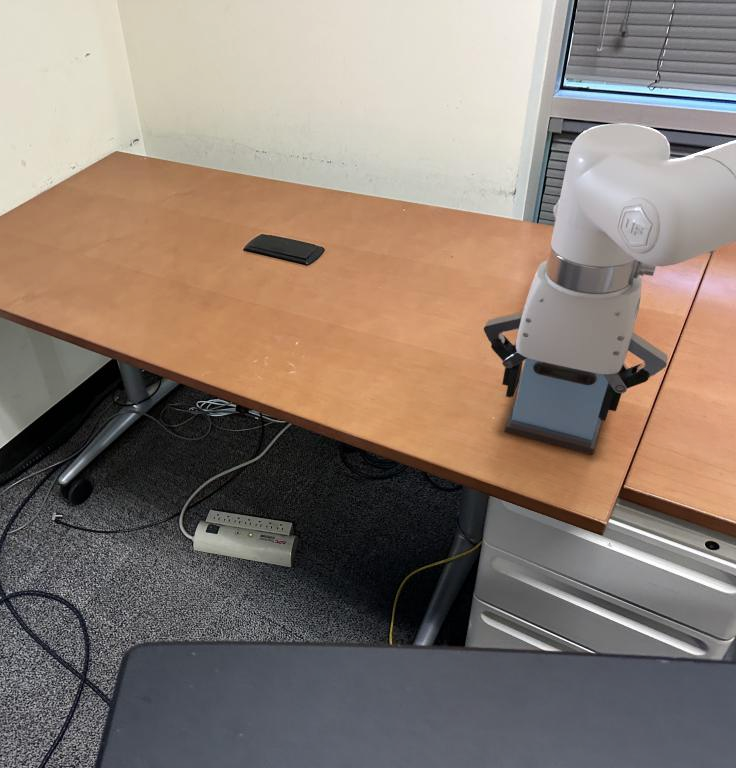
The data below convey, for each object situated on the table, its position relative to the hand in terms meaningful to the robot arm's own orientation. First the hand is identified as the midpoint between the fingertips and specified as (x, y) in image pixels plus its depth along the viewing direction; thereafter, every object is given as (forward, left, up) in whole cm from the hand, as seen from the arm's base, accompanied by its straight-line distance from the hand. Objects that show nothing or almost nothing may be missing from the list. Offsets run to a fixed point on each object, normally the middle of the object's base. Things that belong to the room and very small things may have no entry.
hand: (556, 400), depth 75 cm
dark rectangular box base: (0, -9, -9) cm, 13 cm away
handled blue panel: (0, -5, -3) cm, 6 cm away
